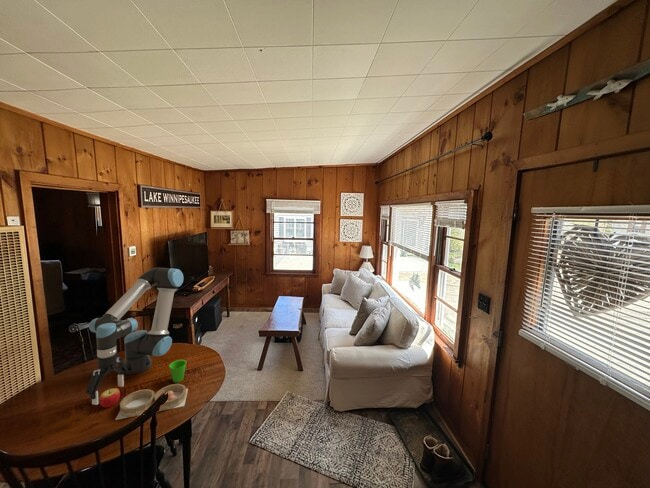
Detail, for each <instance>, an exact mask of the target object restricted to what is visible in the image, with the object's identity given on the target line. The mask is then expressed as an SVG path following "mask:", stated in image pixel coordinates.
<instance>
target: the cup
mask: <svg viewBox="0 0 650 488" xmlns="http://www.w3.org/2000/svg"><path fill="white" fill-rule="evenodd" d="M187 363H188V362H187V360H185V359H177V360H175V361H173V362H171V363H170V364H169V365H168V368H169V370H170V373H171V379H172V382H173V383H175V384H179V383H181V382H182V381H183V380H184V379H185V378H184V377H185V372H186V367H187V366H186V365H187Z"/></svg>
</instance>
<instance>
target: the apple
mask: <svg viewBox="0 0 650 488" xmlns="http://www.w3.org/2000/svg"><path fill="white" fill-rule="evenodd" d="M120 398H121V392H120V389H119V388H117V387H115V388H113V387H112V388H108V389H105V390H104V391H103V392H101V394H100V395H99V396H98V402H99V405H100V406H101V407H102V408H104V409H106V408H110V407H113V406H116V404H117V403H118V402H119V400H120Z"/></svg>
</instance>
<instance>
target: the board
mask: <svg viewBox="0 0 650 488" xmlns="http://www.w3.org/2000/svg"><path fill="white" fill-rule="evenodd" d="M188 391H189V388H186V398H185V400H184V401H183V402H182V403H181V404H180V405H178V406H176V407H174V408H171V409H177V408H182V407H185V405H186V399H187V395H188ZM154 394H155V395H156V393H154ZM181 394H182V393H180V392H173V395H174V396H175V397H176V398H177V397H178V396H180V395H181ZM148 400H150V398H139V399H137V400H134V401H132V402H130V403H129V404H127V405H126V406H125V407H127V408H132V407H137V406H140V405H142V404H144V403H146V402H147V401H148ZM167 401H168V400H167ZM171 409H170V410H171ZM167 410H168V409H166V410H165V411H167ZM161 411H163V410H159V411H158V412H161ZM137 416H141V414H139V415H137ZM137 416H136V417H137ZM132 417H134V416H132ZM132 417H131V418H132ZM127 418H129V417H125V416H122V415H121V412H120V411H119V412H118V414H117V416H116V418H115V419H114V420H115V421H117V420H123V419H127Z"/></svg>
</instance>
